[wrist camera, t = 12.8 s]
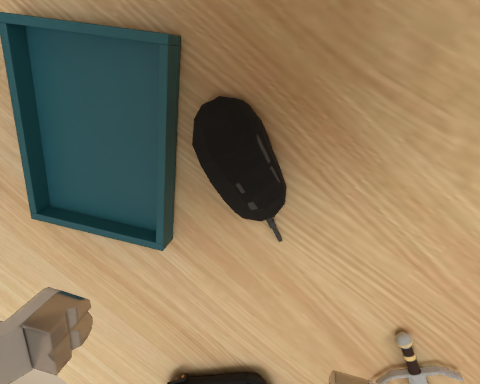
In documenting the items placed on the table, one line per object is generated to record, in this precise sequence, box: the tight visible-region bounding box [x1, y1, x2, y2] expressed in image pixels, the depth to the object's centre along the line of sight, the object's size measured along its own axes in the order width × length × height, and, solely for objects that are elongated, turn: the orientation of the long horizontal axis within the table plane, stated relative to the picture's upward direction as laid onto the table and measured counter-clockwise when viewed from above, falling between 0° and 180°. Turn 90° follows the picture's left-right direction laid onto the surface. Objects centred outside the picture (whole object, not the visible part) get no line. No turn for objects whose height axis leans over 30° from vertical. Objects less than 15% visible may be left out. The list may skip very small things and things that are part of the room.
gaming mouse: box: [192, 96, 286, 242], centre depth 27 cm, size 6×15×4 cm, turn 26°
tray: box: [0, 12, 181, 251], centre depth 30 cm, size 20×16×2 cm
